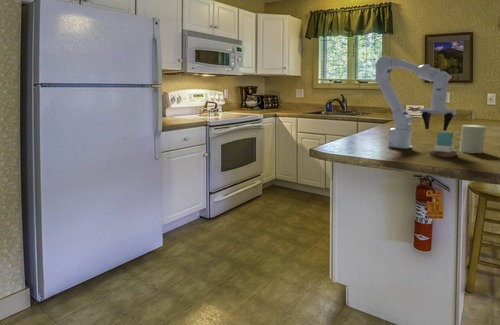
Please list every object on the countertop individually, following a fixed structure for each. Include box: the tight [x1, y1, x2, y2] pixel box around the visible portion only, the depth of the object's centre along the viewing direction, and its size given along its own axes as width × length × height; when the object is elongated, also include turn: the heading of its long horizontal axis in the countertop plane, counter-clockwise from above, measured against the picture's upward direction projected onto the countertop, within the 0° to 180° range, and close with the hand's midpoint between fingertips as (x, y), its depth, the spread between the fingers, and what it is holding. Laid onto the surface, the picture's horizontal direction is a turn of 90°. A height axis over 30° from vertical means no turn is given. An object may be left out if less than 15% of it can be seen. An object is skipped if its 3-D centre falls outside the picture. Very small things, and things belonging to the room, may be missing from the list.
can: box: [459, 124, 487, 154], centre depth 163 cm, size 9×9×12 cm
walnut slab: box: [429, 148, 458, 158], centre depth 157 cm, size 8×8×2 cm
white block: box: [433, 143, 455, 152], centre depth 156 cm, size 6×6×2 cm
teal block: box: [436, 131, 454, 146], centre depth 156 cm, size 4×4×5 cm
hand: (435, 129), depth 166 cm, fingers open, 7 cm apart
